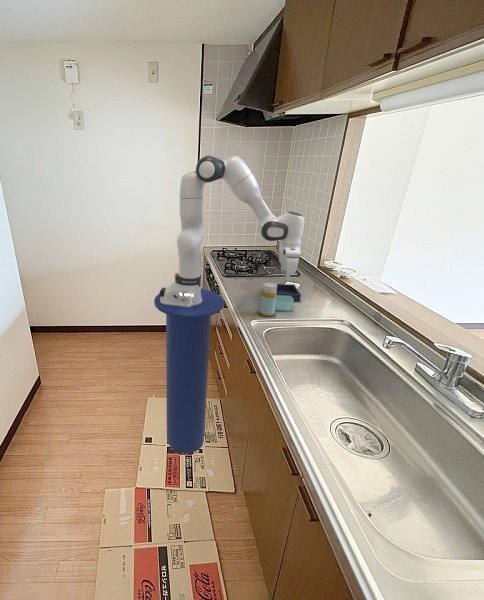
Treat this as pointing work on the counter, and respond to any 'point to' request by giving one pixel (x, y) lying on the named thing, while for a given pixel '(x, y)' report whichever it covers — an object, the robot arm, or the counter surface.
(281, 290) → the tote
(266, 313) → the bottle
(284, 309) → the case
